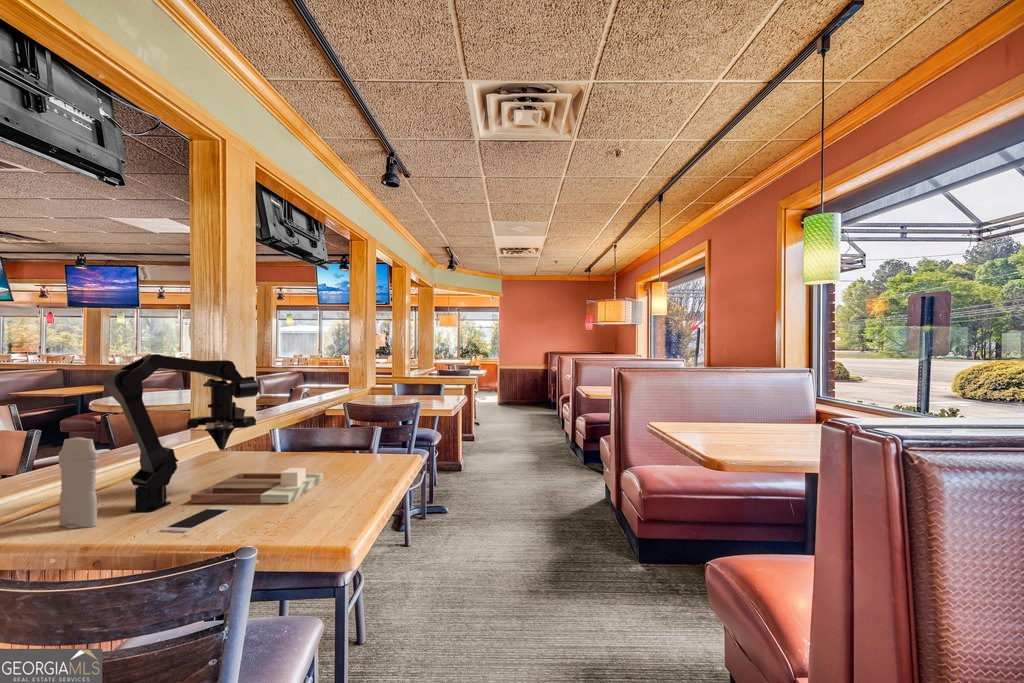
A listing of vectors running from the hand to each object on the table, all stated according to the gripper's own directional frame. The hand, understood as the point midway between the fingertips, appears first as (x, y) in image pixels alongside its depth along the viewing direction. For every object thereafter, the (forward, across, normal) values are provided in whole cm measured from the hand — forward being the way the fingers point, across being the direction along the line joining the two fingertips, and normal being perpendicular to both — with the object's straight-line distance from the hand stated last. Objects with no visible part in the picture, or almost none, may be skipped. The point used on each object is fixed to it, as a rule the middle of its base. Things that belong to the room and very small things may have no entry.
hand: (222, 449), depth 137 cm
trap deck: (+12, -15, +4) cm, 20 cm away
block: (+10, -25, +4) cm, 27 cm away
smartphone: (+13, -12, +25) cm, 30 cm away
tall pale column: (+12, +16, +29) cm, 35 cm away
